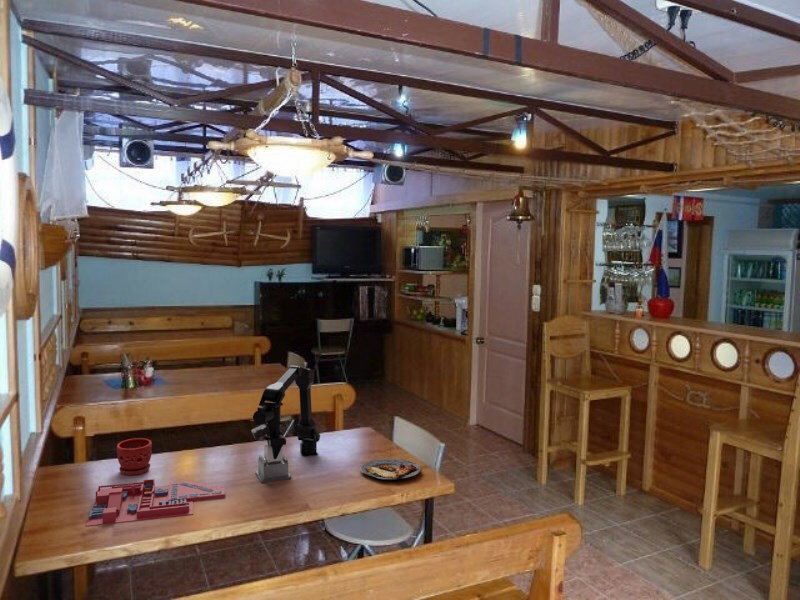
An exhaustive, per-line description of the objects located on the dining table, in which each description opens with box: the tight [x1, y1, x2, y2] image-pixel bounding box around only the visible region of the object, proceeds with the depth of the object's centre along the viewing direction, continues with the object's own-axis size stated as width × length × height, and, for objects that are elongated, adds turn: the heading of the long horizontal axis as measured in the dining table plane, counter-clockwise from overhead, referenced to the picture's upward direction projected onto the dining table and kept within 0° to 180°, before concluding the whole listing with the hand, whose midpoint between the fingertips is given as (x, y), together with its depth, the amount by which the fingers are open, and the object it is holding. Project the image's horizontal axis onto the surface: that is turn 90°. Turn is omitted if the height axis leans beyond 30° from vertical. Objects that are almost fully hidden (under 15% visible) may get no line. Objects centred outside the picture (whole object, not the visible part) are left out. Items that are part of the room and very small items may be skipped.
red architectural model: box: [85, 478, 226, 527], centre depth 222 cm, size 30×45×6 cm
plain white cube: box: [263, 444, 283, 462], centre depth 248 cm, size 6×6×5 cm
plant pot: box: [116, 437, 153, 476], centre depth 250 cm, size 13×13×12 cm
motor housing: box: [254, 452, 292, 484], centre depth 250 cm, size 12×14×8 cm
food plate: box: [359, 458, 422, 481], centre depth 255 cm, size 25×23×4 cm
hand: (273, 456), depth 248 cm, fingers closed on plain white cube, 6 cm apart
